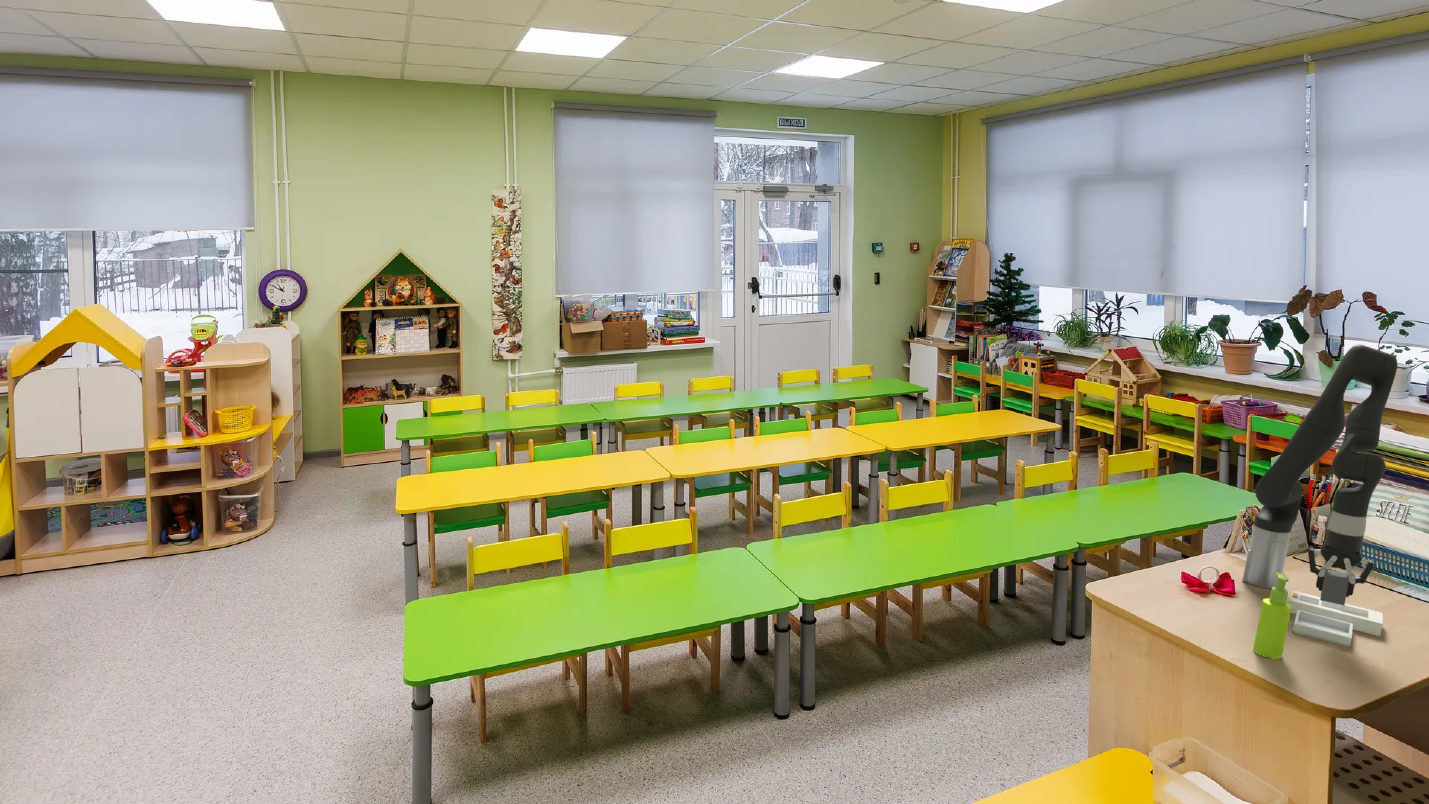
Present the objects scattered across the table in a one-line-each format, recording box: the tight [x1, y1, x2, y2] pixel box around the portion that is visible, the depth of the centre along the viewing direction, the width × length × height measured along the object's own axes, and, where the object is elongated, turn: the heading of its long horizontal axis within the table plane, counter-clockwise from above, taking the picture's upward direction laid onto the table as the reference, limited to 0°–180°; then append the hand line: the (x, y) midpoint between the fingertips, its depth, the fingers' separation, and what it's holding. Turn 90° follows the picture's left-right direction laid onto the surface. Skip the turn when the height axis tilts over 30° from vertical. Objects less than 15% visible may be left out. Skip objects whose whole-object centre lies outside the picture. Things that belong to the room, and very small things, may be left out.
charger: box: [1320, 569, 1349, 605], centre depth 217 cm, size 5×7×7 cm
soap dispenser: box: [1252, 572, 1292, 660], centre depth 205 cm, size 6×7×20 cm
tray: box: [1292, 610, 1354, 649], centre depth 219 cm, size 12×11×2 cm
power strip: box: [1289, 590, 1384, 637], centre depth 228 cm, size 20×9×4 cm, turn 52°
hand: (1333, 592), depth 217 cm, fingers closed on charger, 5 cm apart
